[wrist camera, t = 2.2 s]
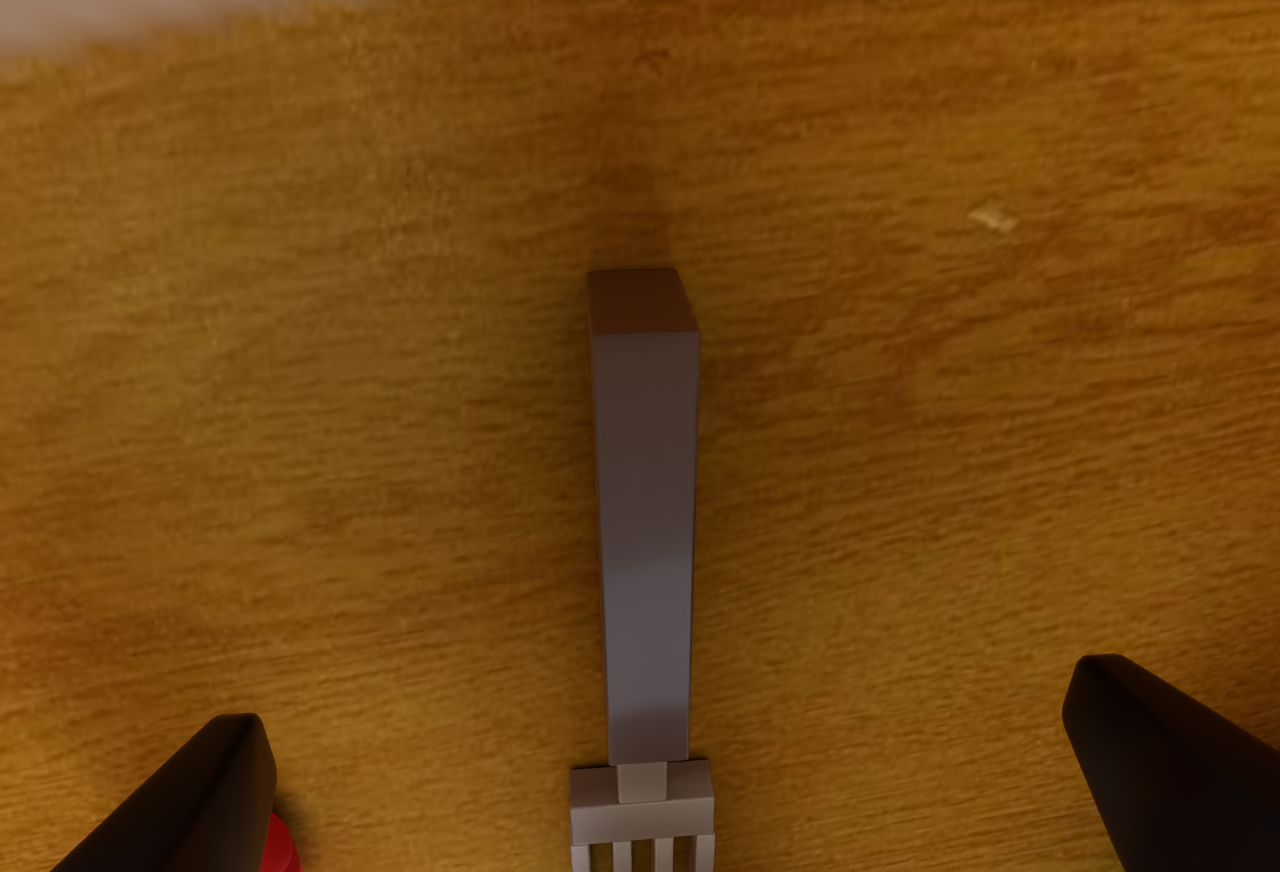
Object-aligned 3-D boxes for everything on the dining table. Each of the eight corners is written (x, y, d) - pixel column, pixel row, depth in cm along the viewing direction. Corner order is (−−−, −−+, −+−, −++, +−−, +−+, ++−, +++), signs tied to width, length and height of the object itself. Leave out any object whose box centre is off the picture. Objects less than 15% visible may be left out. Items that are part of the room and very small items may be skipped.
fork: (528, 273, 13) (523, 338, 11) (732, 265, 13) (767, 327, 11) (575, 883, 20) (577, 994, 18) (705, 872, 20) (722, 981, 18)
